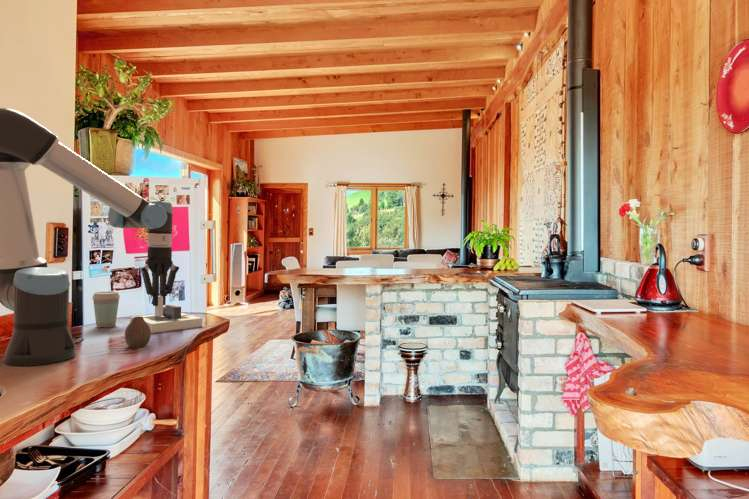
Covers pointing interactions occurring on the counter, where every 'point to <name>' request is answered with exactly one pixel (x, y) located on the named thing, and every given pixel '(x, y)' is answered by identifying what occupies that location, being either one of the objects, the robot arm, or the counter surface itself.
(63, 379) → the counter surface
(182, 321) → the dial board
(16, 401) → the counter surface
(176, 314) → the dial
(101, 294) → the coffee cup
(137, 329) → the vase
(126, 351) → the counter surface
